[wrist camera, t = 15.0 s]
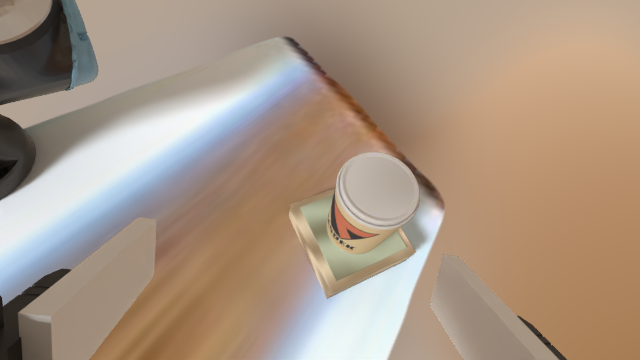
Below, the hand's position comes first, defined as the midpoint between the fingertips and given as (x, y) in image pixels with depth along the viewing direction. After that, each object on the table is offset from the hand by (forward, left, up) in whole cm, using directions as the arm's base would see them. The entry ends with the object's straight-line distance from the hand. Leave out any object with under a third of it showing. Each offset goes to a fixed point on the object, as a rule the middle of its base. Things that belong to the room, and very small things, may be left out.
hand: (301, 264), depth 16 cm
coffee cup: (-8, +15, -28) cm, 32 cm away
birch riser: (-8, +15, -32) cm, 36 cm away
